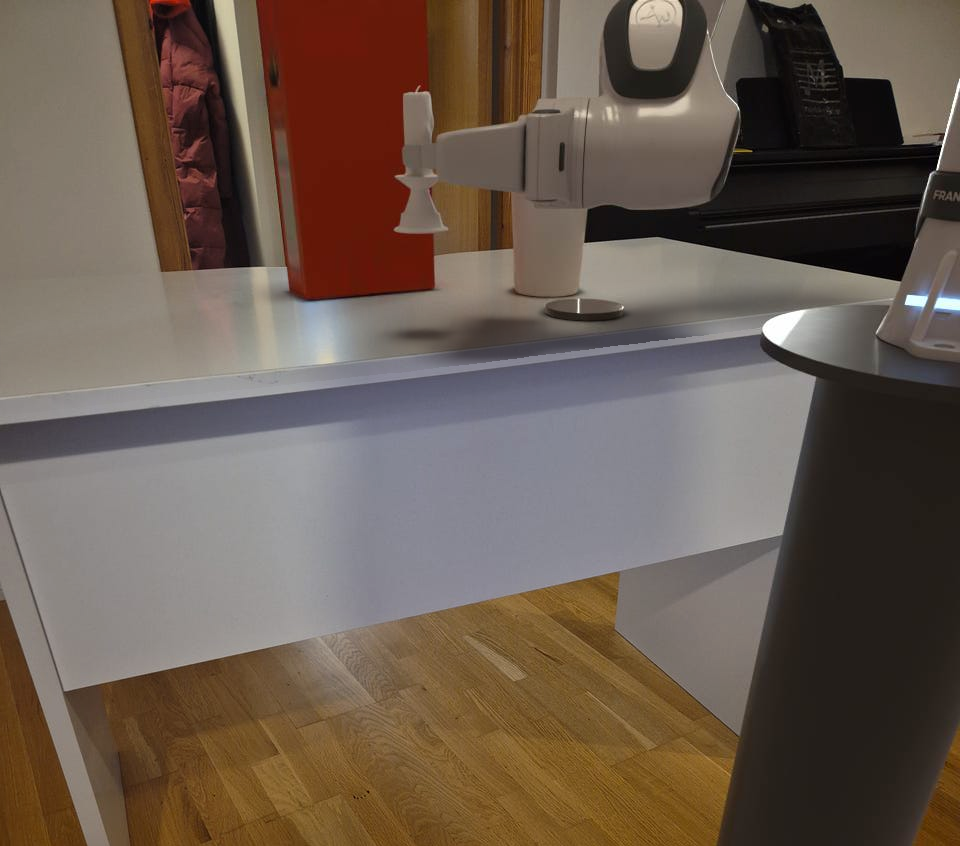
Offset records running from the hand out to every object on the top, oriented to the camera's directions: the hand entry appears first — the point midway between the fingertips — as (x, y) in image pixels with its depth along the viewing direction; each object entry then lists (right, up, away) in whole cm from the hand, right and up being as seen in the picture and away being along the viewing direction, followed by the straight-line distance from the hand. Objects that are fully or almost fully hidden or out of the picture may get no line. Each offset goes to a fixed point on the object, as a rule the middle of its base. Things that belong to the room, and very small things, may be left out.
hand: (409, 155), depth 79 cm
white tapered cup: (+15, -1, +30) cm, 34 cm away
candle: (+1, -6, +3) cm, 7 cm away
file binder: (-9, 0, +30) cm, 31 cm away
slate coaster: (+19, -8, +18) cm, 27 cm away
